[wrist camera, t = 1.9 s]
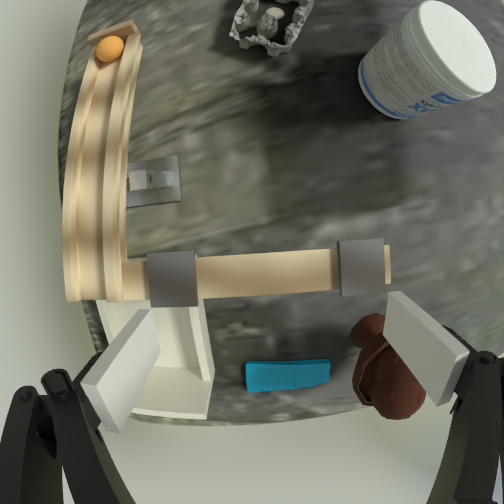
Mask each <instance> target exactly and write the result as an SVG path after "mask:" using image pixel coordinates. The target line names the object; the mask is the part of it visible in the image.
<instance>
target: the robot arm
mask: <svg viewBox="0 0 504 504" xmlns="http://www.w3.org/2000/svg"><path fill="white" fill-rule="evenodd" d="M383 335H384V337H385V338H386V339H387V341H388V342H389V343H390V344H391V346H392V347H393V348H394V350H395V351H396V352H397V353H398V355H399V356H400V357H401V359H402V360H403V361H404V363H405V364H406V365H407V367H408V368H409V369H410V371H411V372H412V373H413V375H414V376H415V377H416V379H417V380H418V381H419V383H420V384H421V386H422V387H423V388H424V390H425V391H426V393H427V394H428V395H429V397H430V398H431V399H432V401H433V402H434V404H435V405H436V407H437V406H440V405H442V404H444V403H447V402H449V401H450V399H451V397H452V395H453V393H454V392H455V393H456V394H457V395H458V397H457V399H456V401H455V403H454V405H453V407H452V410H451V411H450V414H452V412H453V411H454V413H453V417H452V422H451V427H450V431H449V436H448V440H447V444H446V448H445V451H444V455H443V458H442V462H441V465H440V468H439V471H438V474H437V477H436V480H435V483H434V485H433V488H432V491H431V493H430V496H429V499H428V501H427V503H426V504H498V503H497V502H494V501H493V500H492V495H493V491H494V486H495V481H496V475H497V469H498V461H499V453H500V461H501V471H502V487H503V504H504V357H503V358H498V357H497V356H496V355H495V354H493V353H492V352H489V351H479V352H477V351H476V350H475V349H474V348H473V347H472V346H470V345H469V344H468V343H467V342H466V341H465V340H464V339H463V340H462V338H461V337H460V336H459V335H457V333H456V332H454V331H453V330H452V329H450V328H448V327H446V326H444V325H442V326H441V325H440V324H439V323H438V322H437V321H436V320H434V319H433V318H432V317H431V316H430V315H429V314H427V313H426V312H425V311H424V310H423V309H421V308H420V307H419V306H418V305H417V304H415V303H414V302H413V301H412V300H411V299H409V298H408V297H407V296H406V295H404V294H403V293H402V292H401V291H395V292H389V293H388V302H387V310H386V317H385V324H384V330H383ZM160 352H161V349H160V345H159V341H158V337H157V333H156V329H155V325H154V321H153V316H152V312H151V309H138V311H137V312H136V313H135V314H134V315H133V317H132V318H131V319H130V320H129V321H128V323H127V324H126V325H125V326H124V327H123V329H122V330H121V331H120V332H119V334H118V335H117V336H116V337H115V339H114V340H113V341H112V342H111V344H110V345H109V346H108V347H107V349H106V350H105V351H104V352H99V353H97V354H96V355H94V356H93V357H92V358H91V359H90V360H89V362H88V363H87V364H86V365H85V367H84V368H83V370H81V372H80V373H79V374H78V375H77V377H76V378H75V379H74V380H73V382H72V381H71V378H70V376H69V374H68V372H67V371H66V370H64V369H54V370H51V371H48V372H47V373H46V374H44V375H43V377H42V378H41V383H42V385H43V387H44V389H45V391H46V393H47V394H48V395H39V394H38V393H37V390H36V389H35V387H33V386H23V387H21V388H19V389H18V390H17V391H16V392H15V394H14V396H13V399H12V402H11V405H10V408H9V412H8V415H7V418H6V422H5V426H4V429H3V434H2V437H1V442H0V504H64V503H63V489H62V488H63V487H62V466H63V469H64V473H65V476H66V479H67V483H68V486H69V489H70V492H71V494H72V497H73V500H74V503H75V504H136V503H135V502H134V500H133V498H132V496H131V495H130V493H129V491H128V489H127V488H126V486H125V484H124V482H123V480H122V478H121V476H120V474H119V473H118V471H117V469H116V466H115V465H114V462H113V460H112V458H111V456H110V454H109V452H108V449H107V447H106V445H105V442H104V440H103V437H102V435H101V433H100V431H99V430H98V426H99V424H100V422H101V423H102V424H103V426H104V428H105V429H106V431H111V432H115V433H120V434H121V433H122V431H123V429H124V427H125V424H126V422H127V420H128V418H129V416H130V414H131V412H132V409H133V407H134V405H135V403H136V401H137V399H138V397H139V395H140V393H141V391H142V388H143V386H144V384H145V382H146V380H147V378H148V376H149V374H150V372H151V370H152V368H153V366H154V364H155V362H156V360H157V358H158V356H159V354H160Z"/></svg>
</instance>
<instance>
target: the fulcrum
mask: <svg viewBox="0 0 504 504" xmlns="http://www.w3.org/2000/svg"><path fill="white" fill-rule="evenodd" d="M182 200H183V199H182V188H181V176H180V163H179V156H178V155H176V156H169V157H162V158H156V159H150V160H145V161H139V162H134V163H128V164H127V177H126V207H133V206H140V205H148V204H156V203H164V202H173V201H182Z"/></svg>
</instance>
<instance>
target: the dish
mask: <svg viewBox="0 0 504 504" xmlns="http://www.w3.org/2000/svg"><path fill="white" fill-rule="evenodd" d="M195 258H197V254H195ZM134 261H147V257H145V258H130V259H127V262H134ZM198 302H199V306H197V307H163V308H151V304H150V300H123V301H120V302H117V303H107V300H96V304H97V307H98V311H99V314H100V318H101V321H102V324H103V327H104V331H105V334H106V337H107V340H108V343H109V345H110V344H111V342H112V341H113V340H114V339H115V337H116V336H117V335H118V334H119V332H120V331H121V330H122V329H123V327H124V326H125V325H126V324H127V323H128V321H129V320H130V319H131V318H132V317H133V315H134V314H135V313H136V312H137V311H138V309H151V312H152V316H153V321H154V325H155V329H156V333H157V337H158V341H159V345H160V349H161V352H160V354H159V356H158V358H157V360H156V362H155V364H154V366H153V368H152V370H151V372H150V374H149V376H148V378H147V380H146V382H145V384H144V386H143V388H142V391H141V393H140V395H139V397H138V399H137V401H136V403H135V405H134V407H133V409H132V412H131V413H138V414H145V415H153V416H162V417H173V418H186V419H206V416H207V411H208V405H209V400H210V394H211V389H212V384H213V378H214V373H215V368H214V363H213V357H212V352H211V346H210V340H209V334H208V328H207V322H206V315H205V309H204V302H203V298H200V299H198Z"/></svg>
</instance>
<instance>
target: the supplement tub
mask: <svg viewBox="0 0 504 504" xmlns="http://www.w3.org/2000/svg"><path fill="white" fill-rule="evenodd" d="M358 79H359V83H360V86H361V89H362V91H363V93H364V95H365V96H366V98H367V99H368V100H369V102H370V103H371V104H372V105H373V106H374V107H375V108H376V109H378V110H379V111H380V112H382V113H383V114H385V115H387V116H389V117H392V118H396V119H409V118H412V117H415V116H418V115H421V114H424V113H427V112H430V111H433V110H437V109H440V108H443V107H446V106H449V105H453V104H456V103H459V102H463V101H466V100H469V99H473V98H476V97H479V96H481V95H482V94H484V93H487V92H489V91H491V90H492V89H493V87H494V85H495V82H496V69H495V64H494V60H493V57H492V55H491V52H490V50H489V48H488V46H487V44H486V42H485V41H484V39H483V38H482V36H481V35H480V33H479V32H478V31H477V29H476V28H475V27H474V26H473V25H472V23H471V22H470V21H469V20H468V19H467V18H465V17H464V16H463V15H462V14H461V13H459V12H458V11H457V10H455V9H454V8H452V7H450V6H449V5H447V4H445V3H442V2H439V1H434V0H428V1H424V2H422V3H421V4H420V5H418V6H416V7H414V8H413V9H412V10H411V11H410V12H408V13H407V14H406V15H405V16H404V17H403V18H402V19H401V20H400V21H399V22H398V23H397V24H396V25H395V26H394V27H393V28H392V29H391V30H390V31H389V32H388V33H387V34H386V35H385V36H384V37H383V38H382V39H381V40H380V41H379V42H378V43H377V44H376V45H375V46H374V47H373V48H372V49H371V50H370V51H369V52H368V53H367V54H366V55H365V56H364V57H363V59H362V60H361V62H360V65H359V68H358Z"/></svg>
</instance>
